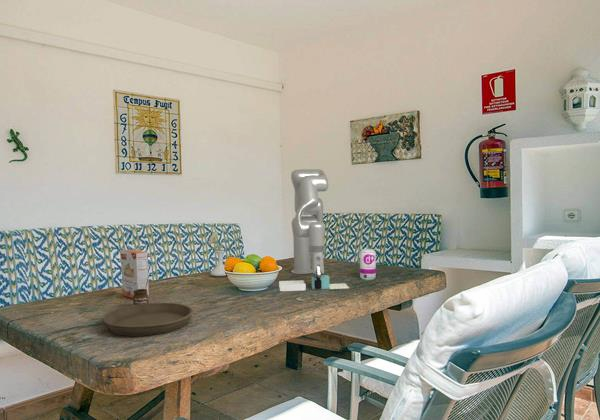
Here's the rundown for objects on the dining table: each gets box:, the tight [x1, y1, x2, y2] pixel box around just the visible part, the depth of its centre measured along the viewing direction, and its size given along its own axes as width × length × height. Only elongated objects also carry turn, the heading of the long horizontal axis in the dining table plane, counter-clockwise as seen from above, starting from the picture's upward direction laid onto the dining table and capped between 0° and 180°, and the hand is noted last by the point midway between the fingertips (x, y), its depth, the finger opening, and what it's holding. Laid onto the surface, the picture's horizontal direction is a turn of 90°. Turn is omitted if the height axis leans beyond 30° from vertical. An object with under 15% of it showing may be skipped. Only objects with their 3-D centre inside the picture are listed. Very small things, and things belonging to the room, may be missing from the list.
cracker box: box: [120, 249, 150, 299], centre depth 216 cm, size 14×6×21 cm, turn 47°
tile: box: [329, 282, 350, 290], centre depth 232 cm, size 9×9×1 cm
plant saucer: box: [101, 302, 194, 337], centre depth 172 cm, size 31×31×5 cm
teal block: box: [310, 274, 331, 290], centre depth 230 cm, size 5×8×6 cm, turn 95°
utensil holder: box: [132, 276, 150, 305], centre depth 198 cm, size 6×6×12 cm
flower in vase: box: [208, 231, 227, 277], centre depth 265 cm, size 13×11×25 cm
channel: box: [278, 279, 307, 292], centre depth 229 cm, size 9×12×3 cm
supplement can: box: [359, 248, 377, 281], centre depth 251 cm, size 8×8×15 cm
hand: (317, 286), depth 230 cm, fingers closed on teal block, 5 cm apart
